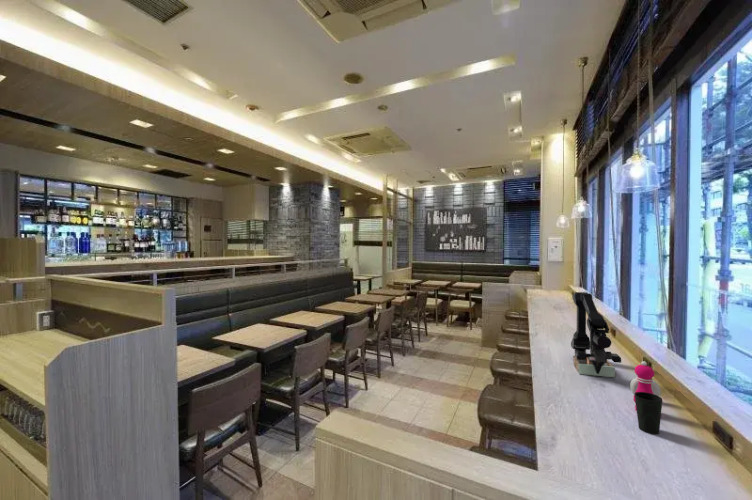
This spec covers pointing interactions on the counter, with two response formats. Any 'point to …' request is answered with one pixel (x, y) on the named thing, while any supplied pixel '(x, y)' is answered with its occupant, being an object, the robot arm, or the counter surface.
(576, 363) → the sleeve
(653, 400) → the cup
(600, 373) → the tray
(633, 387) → the donut
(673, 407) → the counter surface
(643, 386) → the pepper mill
